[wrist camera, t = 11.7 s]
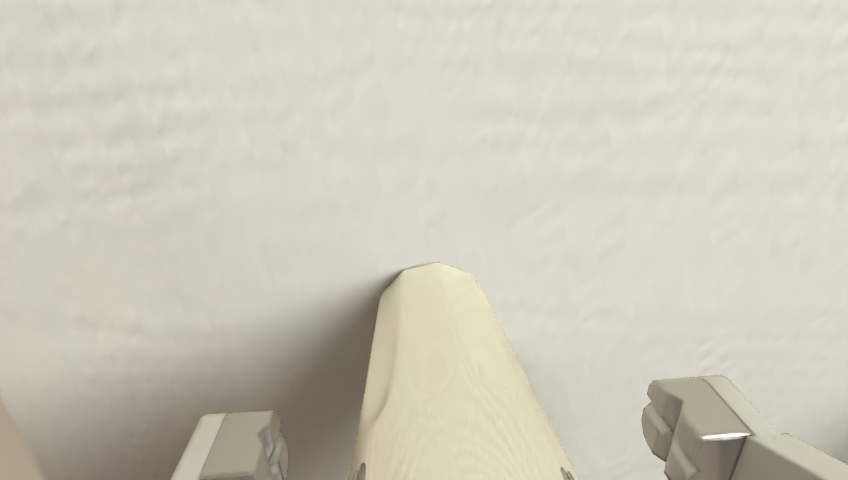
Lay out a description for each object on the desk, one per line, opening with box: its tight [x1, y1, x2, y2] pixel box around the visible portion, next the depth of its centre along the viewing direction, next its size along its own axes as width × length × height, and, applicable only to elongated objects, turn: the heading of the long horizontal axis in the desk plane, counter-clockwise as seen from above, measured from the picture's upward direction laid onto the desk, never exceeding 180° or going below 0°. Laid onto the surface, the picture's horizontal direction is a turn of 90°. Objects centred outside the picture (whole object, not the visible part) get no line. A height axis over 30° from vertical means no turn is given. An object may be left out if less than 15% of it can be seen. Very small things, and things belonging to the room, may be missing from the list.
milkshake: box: [347, 262, 580, 480], centre depth 9 cm, size 4×5×10 cm
